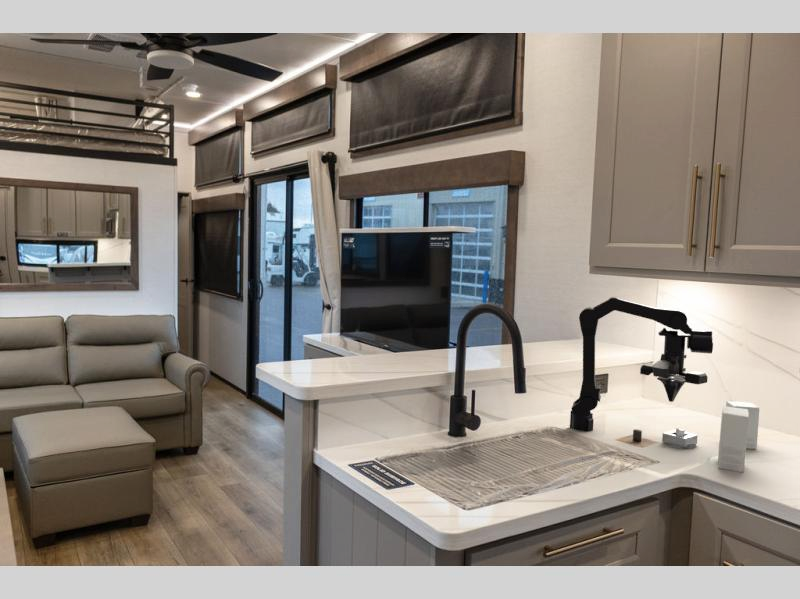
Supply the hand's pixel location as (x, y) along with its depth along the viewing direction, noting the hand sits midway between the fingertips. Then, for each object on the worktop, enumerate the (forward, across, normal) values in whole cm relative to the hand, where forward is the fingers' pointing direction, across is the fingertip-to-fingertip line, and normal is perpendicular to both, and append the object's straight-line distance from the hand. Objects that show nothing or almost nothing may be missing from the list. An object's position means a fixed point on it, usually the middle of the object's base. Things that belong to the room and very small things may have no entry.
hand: (671, 401), depth 193 cm
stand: (+12, -4, -11) cm, 17 cm away
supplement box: (+13, +14, +16) cm, 25 cm away
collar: (+11, +5, -3) cm, 12 cm away
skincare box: (+13, +22, -7) cm, 26 cm away
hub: (+12, +5, -3) cm, 14 cm away
